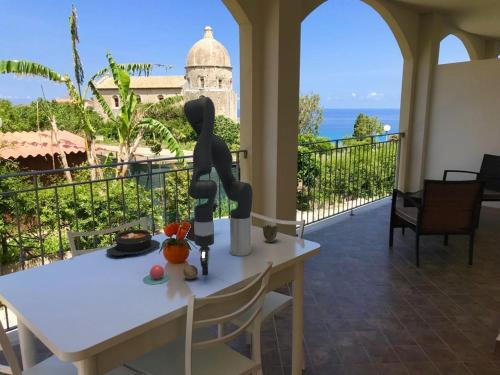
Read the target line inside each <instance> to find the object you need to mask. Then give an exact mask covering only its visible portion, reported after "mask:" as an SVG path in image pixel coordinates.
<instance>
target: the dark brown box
mask: <svg viewBox="0 0 500 375" xmlns="http://www.w3.org/2000/svg"><path fill="white" fill-rule="evenodd" d="M218 207H219V205H218V203H216V202H214V205H213V213H217V208H218ZM184 221H186V222H189V223H190V224H191V228H190V230H189V232H188V234H187V236H186V238H187V239H186V238H185V239H186V240H189V241H191V242H194V243H195V239H194V223H195V217H192V218H190V219H186V220H183V222H184Z"/></svg>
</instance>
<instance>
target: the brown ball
mask: <svg viewBox="0 0 500 375" xmlns="http://www.w3.org/2000/svg"><path fill="white" fill-rule="evenodd" d="M198 273H199V270H198V268H197V267H196V266H195V265H193V264H189V265H186V266H185V267H184V269H183V276H184V277H185V279H187V280H189V281H191V280H194V279H196V277H198Z"/></svg>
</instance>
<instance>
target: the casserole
mask: <svg viewBox="0 0 500 375" xmlns="http://www.w3.org/2000/svg"><path fill="white" fill-rule="evenodd" d="M152 238H153V236H152V235H151V233H150V231H149V230H147V229H129V230H125V231H121V232H119V233H117V234H116V236H115V238H114V243H115V244H116V245H114V246H112V247H109V248H107V249H106V251H105V252H106V253H107V254H109V255H111V256H118V257H120V256H126V255H128V256H129V255H130V256H131V255H133V256H134V255H139V254H143V253H145V252H149V251H150V250H152V249H154V248H156V247H159V246H160V245H161V242H160V241H158V240H156V239H152Z"/></svg>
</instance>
